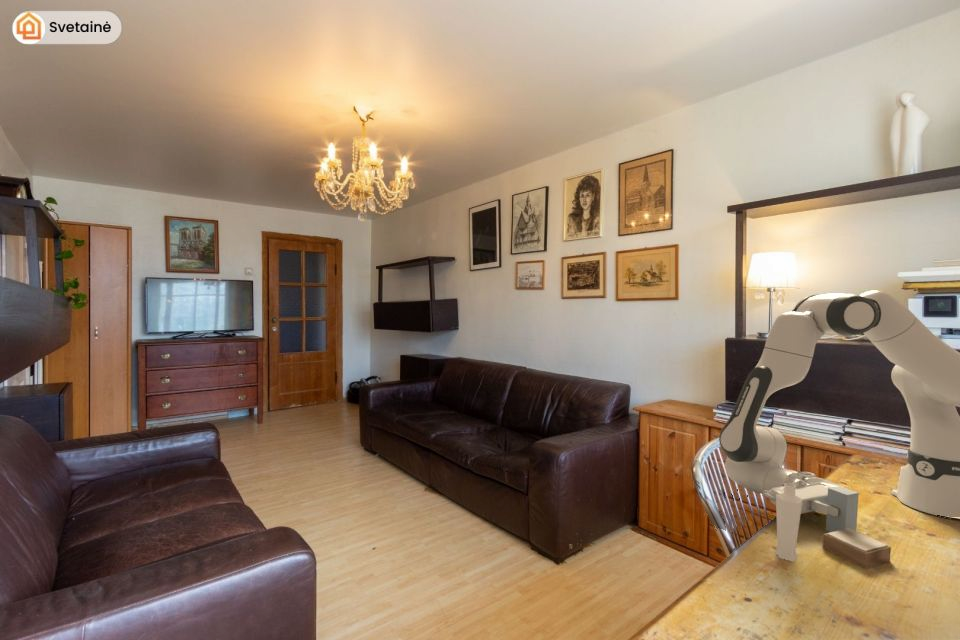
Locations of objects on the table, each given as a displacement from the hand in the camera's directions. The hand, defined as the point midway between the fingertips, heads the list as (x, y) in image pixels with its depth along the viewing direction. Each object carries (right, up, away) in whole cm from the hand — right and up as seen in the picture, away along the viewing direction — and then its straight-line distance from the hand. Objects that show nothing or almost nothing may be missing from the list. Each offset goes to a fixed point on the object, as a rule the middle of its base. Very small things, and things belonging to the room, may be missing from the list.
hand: (846, 511), depth 103 cm
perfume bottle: (-20, -6, -9) cm, 23 cm away
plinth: (-5, -6, -8) cm, 11 cm away
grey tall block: (-1, -5, +1) cm, 6 cm away
